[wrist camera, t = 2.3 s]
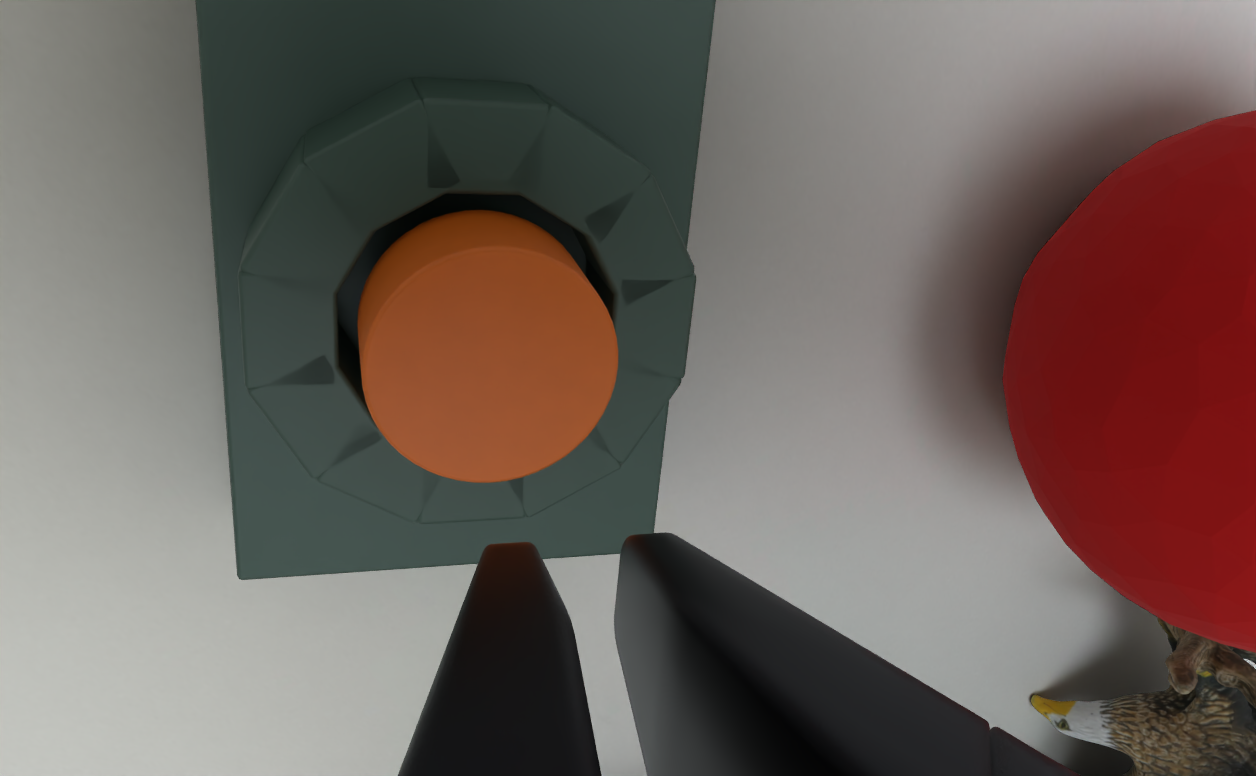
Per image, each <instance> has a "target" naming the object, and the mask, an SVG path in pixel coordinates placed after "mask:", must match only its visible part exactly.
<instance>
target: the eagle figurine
mask: <svg viewBox="0 0 1256 776" xmlns="http://www.w3.org/2000/svg"><path fill="white" fill-rule="evenodd" d="M1158 622H1159V624H1160V625H1161V626H1162V628H1163V630H1164V631H1165V632H1166V633H1167V634H1168V640H1169V643H1170V645H1171V648H1172V652H1173V653H1171V654H1170V655H1169V656H1168V657H1167V658H1166V661H1165V664H1166V666H1167V668H1168V671H1169V674H1168V680H1169V683H1170V687H1169V688H1168V689H1167V690H1166V691H1159V692H1153V693H1141V694H1135V695H1126V696H1122V697H1119V698H1115V699H1110V700H1098V701H1092V702H1086V701H1054V700H1050V699H1045V698H1042V697H1040V696H1038V695H1033V696H1032V699H1031V703H1032V705H1033V707H1034V708H1035V709H1036V710H1037V711H1038V712H1040V713H1041V714H1042V715H1044V716H1045V717H1046V718H1047V719H1048V720H1049V721H1050V722H1051V723H1052V725H1053V726H1054V727H1055V728H1056V729H1057V730H1058V731H1059V732H1061V733H1064V734H1066V735H1068V736H1071V737H1075V738H1078V739H1081V740H1085V741H1089V742H1093V743H1097V744H1101V745H1104V746H1108V747H1111V748H1113V749H1116V750H1119V751H1122V752H1124V753H1126V754H1127V755H1129V756H1130V757H1131V758H1132V760H1133V762H1134V765H1133V766H1132V768H1131V769H1130V770H1129V771H1128V772H1127V773H1125V774H1124V775H1122V776H1256V669H1255V668H1254V667H1253V666H1251V665H1250V664H1249V663H1248V662H1246V661H1245V660H1244V659H1248V660H1251V661H1252V662H1254V663H1255V664H1256V653H1255V652H1251V651H1247V650H1243V649H1239V648H1236V647H1232V646H1228V645H1224V644H1221V643H1218V642H1215V641H1213V640H1210V639H1207V638H1205V637H1202V636H1199V635H1197V634H1194V633H1192V632H1189V631H1186V630H1184V629H1181V628H1178V627H1176V626H1173V625H1170V624H1168V623H1167V622H1165V621H1163V620H1162V619H1160V618H1159V617H1158Z"/></svg>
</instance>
